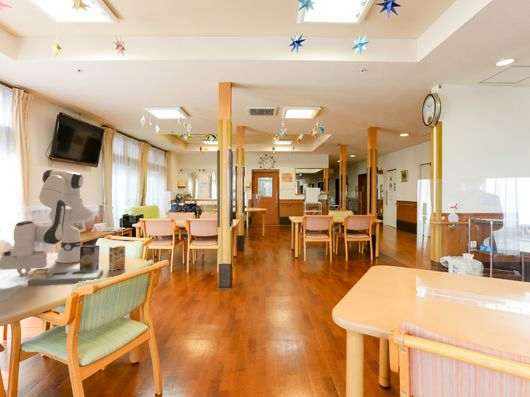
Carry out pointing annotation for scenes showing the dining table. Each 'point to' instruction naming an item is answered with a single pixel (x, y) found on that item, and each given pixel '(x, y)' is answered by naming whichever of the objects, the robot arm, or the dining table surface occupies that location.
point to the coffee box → (89, 257)
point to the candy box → (116, 257)
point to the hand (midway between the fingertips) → (23, 276)
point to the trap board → (67, 277)
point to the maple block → (40, 273)
